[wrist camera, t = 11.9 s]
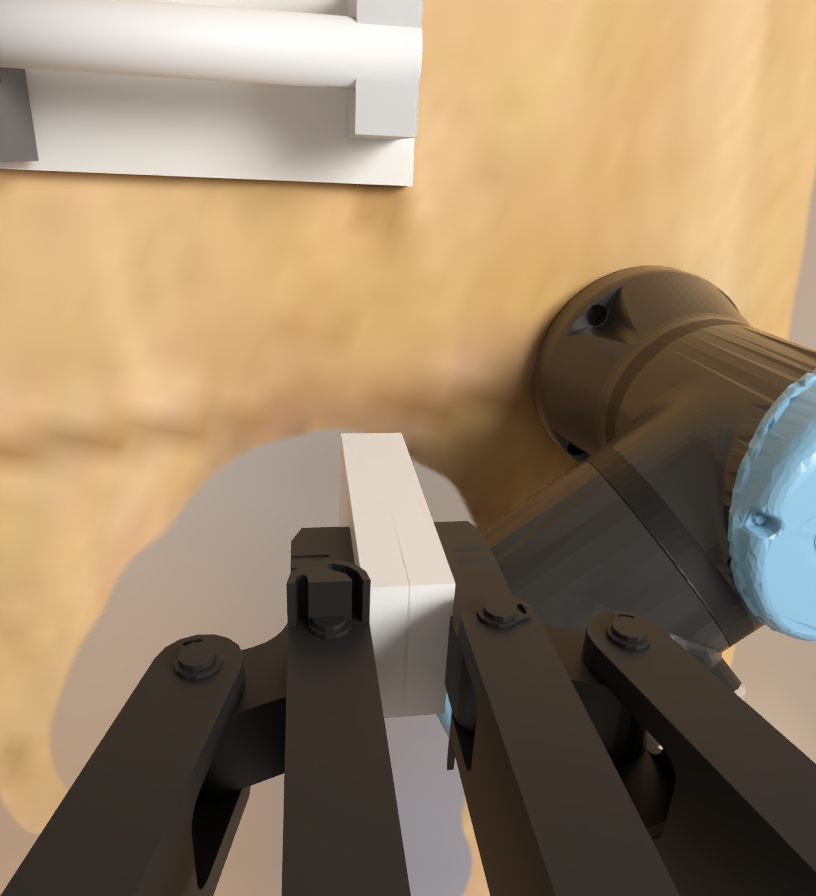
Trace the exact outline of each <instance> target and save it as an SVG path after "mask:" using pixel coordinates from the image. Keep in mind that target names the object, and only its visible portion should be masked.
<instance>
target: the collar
mask: <svg viewBox="0 0 816 896" xmlns="http://www.w3.org/2000/svg"><path fill="white" fill-rule="evenodd" d="M27 161H39V159H38V152H37V146H36V139H35V133H34V126H33V119H32V113H31V106H30V100H29V93H28V87H27V80H26V73H25V69H21V68H5V67H0V162H27Z"/></svg>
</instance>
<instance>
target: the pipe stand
mask: <svg viewBox="0 0 816 896" xmlns="http://www.w3.org/2000/svg"><path fill="white" fill-rule="evenodd" d="M422 9H423V0H0V67H5V68H21V69H25V73H26V80H27V87H28V93H29V100H30V106H31V113H32V119H33V126H34V133H35V139H36V146H37V152H38V159H39V161H27V162H0V169H19V170H43V171H66V172H90V173H114V174H137V175H161V176H185V177H208V178H232V179H256V180H280V181H303V182H327V183H351V184H374V185H398V186H412V185H413V162H414V139H415V138H416V137H417V119H418V97H419V80H420V73H421V63H422Z"/></svg>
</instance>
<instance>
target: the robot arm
mask: <svg viewBox="0 0 816 896" xmlns="http://www.w3.org/2000/svg"><path fill="white" fill-rule="evenodd" d="M534 398H535V404H536V408H537V412H538V415H539V418H540V420H541V422H542V424H543V426H544V428H545V430H546V431H547V433H548V434H549V436H550V437H551V438H552V440H553V441H554V442H555V443H556V444H557V445H558V447H559V448H560V449H561V450H562V451H563V452H564V453H565V454H566V455H567V456H568V457H569V458H570V459H571V460H573V461H574V462H575V463H577V465H576V466H575V467H573V468H572V469H570V470H569V471H567V472H566V473H565V474H563V475H562V476H560V477H559V478H558V479H556V480H555V481H553V482H552V483H550V484H549V485H548V486H546V487H545V488H543V489H542V490H541V491H539V492H538V493H536V494H535V495H533V496H532V497H531V498H529V499H528V500H526V501H525V502H524V503H522V504H521V505H519V506H518V507H516V508H515V509H514V510H512V511H511V512H509V513H508V514H507V515H505V516H504V517H502V518H501V519H499V520H498V521H497V522H495V523H494V524H492V525H491V526H490V527H488V528H487V529H485V530H484V531H482V532H481V531H480V530H478V529H477V528H476V527H474V526H473V525H472V524H471V523H469V522H468V521H457V522H433V520H432V517H431V514H430V511H429V508H428V506H427V503H426V500H425V497H424V494H423V492H422V489H421V486H420V483H419V481H418V478H417V475H416V472H415V469H414V467H413V464H412V461H411V458H410V455H409V453H408V450H407V447H406V444H405V441H404V439H403V436H402V433H351V434H341V512H340V515H341V516H340V517H341V518H340V527H321V528H302V529H301V530H300V531H299V532H298V534H297V535H296V536H295V538H294V539H293V540H292V541H291V574H290V576H289V579H288V581H287V614H288V623H287V625H286V626H285V628H284V629H283V630H282V631H281V632H280V633H279V634H278V635H277V636H276V637H274V638H272V639H271V640H269V641H268V642H266V643H263V644H261V645H258V646H255V647H252V648H248V649H245V650H241V649H240V647H239V645H237V644H236V643H235V642H233V641H232V640H230V639H228V638H226V637H222V636H218V635H195V636H191V637H187V638H184V639H180V640H178V641H176V642H175V643H173V644H171V645H169V646H167V647H165V648H164V649H163V651H162V652H160V653H159V655H158V656H157V657H156V658H155V659H154V660H153V662H152V664H151V665H150V667H149V668H148V670H147V671H146V673H145V674H144V676H143V677H142V679H141V680H140V682H139V684H138V685H137V687H136V688H135V690H134V691H133V693H132V694H131V696H130V697H129V699H128V700H127V702H126V703H125V705H124V707H123V708H122V710H121V711H120V713H119V714H118V716H117V717H116V719H115V721H114V722H113V724H112V725H111V727H110V728H109V730H108V731H107V733H106V734H105V736H104V738H103V739H102V740H101V742H100V743H99V745H98V747H97V748H96V750H95V751H94V753H93V754H92V756H91V758H90V759H89V760H88V762H87V763H86V765H85V767H84V768H83V770H82V771H81V773H80V774H79V776H78V777H77V779H76V780H75V782H74V783H73V785H72V787H71V788H70V790H69V791H68V793H67V794H66V796H65V797H64V799H63V800H62V802H61V803H60V805H59V806H58V808H57V810H56V811H55V813H54V814H53V816H52V817H51V819H50V820H49V822H48V823H47V825H46V826H45V828H44V830H43V831H42V833H41V834H40V836H39V837H38V839H37V840H36V842H35V843H34V845H33V847H32V848H31V850H30V851H29V853H28V854H27V856H26V857H25V859H24V860H23V862H22V863H21V865H20V866H19V868H18V870H17V871H16V873H15V874H14V876H13V877H12V879H11V880H10V882H9V883H8V885H7V887H6V888H5V890H4V891H3V893H2V894H1V896H213V895H214V892H215V889H216V886H217V883H218V881H219V878H220V875H221V872H222V870H223V867H224V864H225V861H226V859H227V856H228V853H229V850H230V848H231V845H232V842H233V839H234V836H235V834H236V831H237V828H238V825H239V823H240V820H241V817H242V814H243V811H244V809H245V806H246V803H247V801H248V798H249V794H250V786H251V785H254V784H256V783H259V782H262V781H264V780H267V779H270V778H272V777H275V776H277V775H280V774H283V773H285V776H284V777H285V778H284V820H283V821H284V822H283V823H284V824H283V864H282V896H411V895H410V888H409V882H408V875H407V868H406V862H405V855H404V848H403V842H402V835H401V829H400V822H399V815H398V809H397V802H396V795H395V788H394V782H393V775H392V768H391V762H390V755H389V749H388V742H387V735H386V729H385V722H384V718H388V717H401V716H416V715H429V714H437V716H438V718H439V720H440V722H441V724H442V726H443V728H444V730H445V732H446V733H447V735H448V737H449V745H448V757H447V770H451V769H454V759H455V757H456V761H457V765H458V769H459V773H460V777H461V781H462V785H463V789H464V793H465V797H466V801H467V805H468V809H469V813H470V817H471V821H472V825H473V829H474V833H475V837H476V841H477V845H478V849H479V853H480V857H481V861H482V865H483V869H484V873H485V876H486V880H487V884H488V888H489V892H490V896H816V764H815V763H814V762H813V761H812V760H810V759H809V758H808V757H807V756H806V755H805V754H804V753H803V752H802V751H800V750H799V749H798V748H797V747H796V746H795V745H794V744H792V743H791V742H790V741H789V740H788V739H787V738H786V737H784V736H783V735H782V734H781V733H780V732H779V731H778V730H776V729H775V728H774V727H773V726H772V725H771V724H770V723H769V722H767V721H766V720H765V719H764V718H763V717H762V716H761V715H759V714H758V713H757V712H756V711H755V710H754V709H752V708H751V707H750V706H749V705H748V704H747V703H746V702H745V697H746V688H745V687H744V685H743V684H742V683H741V682H740V680H739V679H738V678H737V676H736V675H735V674H734V672H733V671H732V670H731V669H730V667H729V666H728V665H727V663H726V662H725V661H724V659H723V658H722V652H723V651H725V650H726V649H728V648H729V647H731V646H732V645H734V644H735V643H737V642H738V641H740V640H741V639H743V638H744V637H746V636H748V635H749V634H751V633H752V632H754V631H755V630H757V629H759V628H760V627H762V626H763V625H767V626H768V627H770V628H771V629H772V630H774V631H778V632H780V633H783V634H785V635H788V636H791V637H794V638H797V639H801V640H806V641H816V351H814V350H811V349H808V348H805V347H803V346H800V345H798V344H795V343H792V342H790V341H787V340H785V339H782V338H779V337H777V336H774V335H771V334H769V333H766V332H763V331H761V330H758V329H755V328H752V327H751V326H750V325H749V324H748V322H747V321H746V320H745V318H744V317H743V316H742V315H741V314H740V312H739V310H738V309H737V307H736V306H735V304H734V303H733V302H732V300H731V299H730V298H729V297H728V296H727V295H726V294H725V293H724V292H723V291H722V290H720V289H719V288H718V287H716V286H715V285H713V284H712V283H710V282H709V281H707V280H705V279H703V278H701V277H699V276H696V275H693V274H690V273H687V272H684V271H681V270H678V269H674V268H670V267H663V266H640V267H633V268H628V269H624V270H621V271H618V272H615V273H612V274H610V275H608V276H606V277H604V278H602V279H600V280H598V281H596V282H594V283H593V284H591V285H590V286H588V287H587V288H585V289H584V290H583V291H581V292H580V293H579V294H578V295H577V296H575V297H574V298H573V299H572V300H571V301H570V302H569V303H568V304H567V305H566V306H565V307H564V309H563V310H562V311H561V312H560V313H559V315H558V316H557V317H556V319H555V320H554V322H553V323H552V325H551V326H550V328H549V330H548V332H547V334H546V336H545V338H544V340H543V342H542V345H541V347H540V350H539V353H538V356H537V360H536V365H535V371H534Z"/></svg>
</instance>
